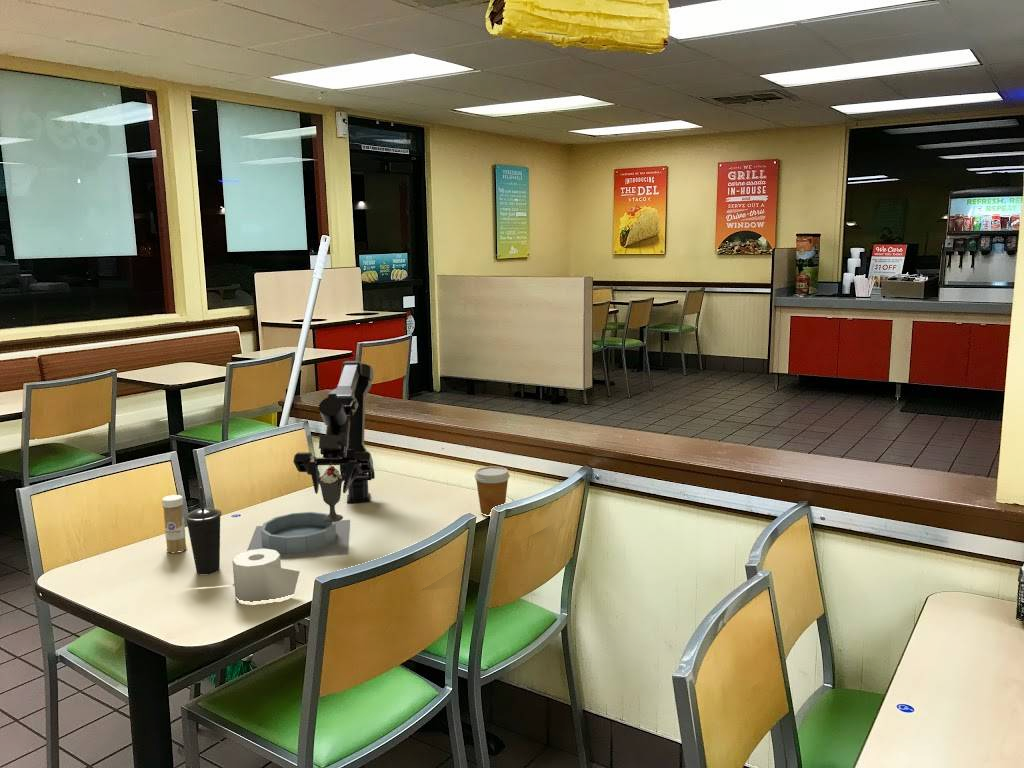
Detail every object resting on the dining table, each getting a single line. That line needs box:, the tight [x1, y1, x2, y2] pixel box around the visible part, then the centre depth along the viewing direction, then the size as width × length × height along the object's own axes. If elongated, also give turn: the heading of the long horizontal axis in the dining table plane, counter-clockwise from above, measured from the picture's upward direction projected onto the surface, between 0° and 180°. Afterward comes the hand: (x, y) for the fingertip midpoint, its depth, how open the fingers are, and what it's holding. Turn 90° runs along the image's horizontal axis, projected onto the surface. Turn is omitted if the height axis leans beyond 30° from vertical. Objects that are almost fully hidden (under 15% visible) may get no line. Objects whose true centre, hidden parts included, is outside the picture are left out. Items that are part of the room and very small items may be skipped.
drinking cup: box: [184, 486, 222, 575], centre depth 179 cm, size 8×8×20 cm
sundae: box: [317, 462, 345, 522], centre depth 195 cm, size 7×7×15 cm
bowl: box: [261, 511, 336, 554], centre depth 198 cm, size 18×18×4 cm
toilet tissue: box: [232, 549, 300, 602], centre depth 168 cm, size 9×13×9 cm
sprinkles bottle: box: [161, 494, 188, 553], centre depth 192 cm, size 5×5×14 cm
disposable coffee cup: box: [473, 465, 511, 515], centre depth 215 cm, size 10×10×12 cm
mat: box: [246, 519, 351, 561], centre depth 198 cm, size 24×24×1 cm
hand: (330, 492), depth 194 cm, fingers closed on sundae, 6 cm apart
